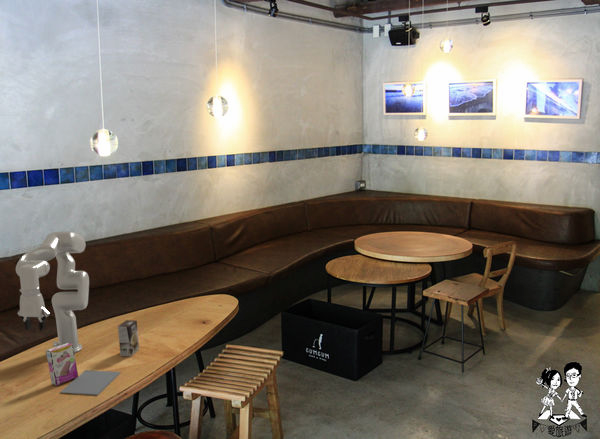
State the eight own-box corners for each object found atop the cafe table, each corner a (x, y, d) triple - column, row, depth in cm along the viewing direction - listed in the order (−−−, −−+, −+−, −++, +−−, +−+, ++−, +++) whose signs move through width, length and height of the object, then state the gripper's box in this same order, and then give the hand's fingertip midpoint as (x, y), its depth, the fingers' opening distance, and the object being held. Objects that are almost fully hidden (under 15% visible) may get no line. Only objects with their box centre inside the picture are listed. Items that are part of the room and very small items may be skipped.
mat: (60, 393, 264) (60, 392, 264) (85, 371, 285) (85, 370, 285) (97, 395, 261) (97, 394, 261) (120, 373, 282) (120, 371, 282)
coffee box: (131, 356, 300) (128, 326, 297) (120, 356, 302) (117, 326, 298) (139, 349, 309) (137, 320, 306) (128, 348, 310) (125, 319, 307)
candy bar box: (56, 386, 269) (49, 351, 268) (51, 384, 273) (44, 350, 271) (79, 377, 278) (72, 343, 276) (74, 375, 281) (67, 342, 279)
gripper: (8, 293, 267) (13, 331, 270) (43, 294, 264) (48, 332, 267) (18, 288, 274) (23, 325, 277) (52, 289, 271) (57, 326, 274)
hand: (35, 328), depth 272 cm, fingers open, 6 cm apart
